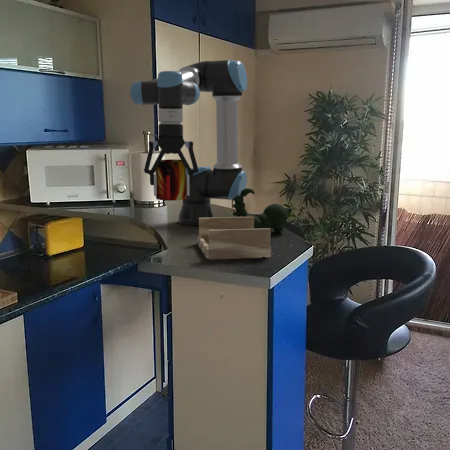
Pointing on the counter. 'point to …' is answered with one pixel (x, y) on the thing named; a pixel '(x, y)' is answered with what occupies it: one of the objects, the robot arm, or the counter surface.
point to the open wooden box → (233, 238)
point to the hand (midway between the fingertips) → (171, 195)
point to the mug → (171, 180)
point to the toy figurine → (269, 218)
